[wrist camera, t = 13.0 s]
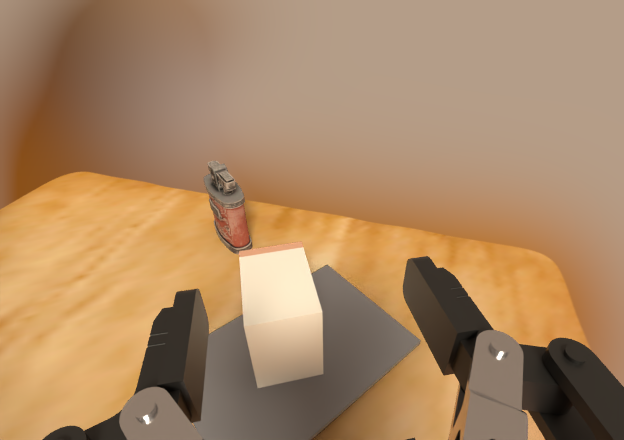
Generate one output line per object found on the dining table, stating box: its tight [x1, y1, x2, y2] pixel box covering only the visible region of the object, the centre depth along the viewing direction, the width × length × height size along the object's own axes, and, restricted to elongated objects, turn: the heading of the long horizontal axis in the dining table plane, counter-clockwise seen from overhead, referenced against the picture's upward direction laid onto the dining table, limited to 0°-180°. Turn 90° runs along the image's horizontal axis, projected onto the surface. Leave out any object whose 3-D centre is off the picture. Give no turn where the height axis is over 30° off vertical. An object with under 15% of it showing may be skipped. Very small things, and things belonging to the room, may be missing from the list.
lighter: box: [204, 161, 252, 254], centre depth 43 cm, size 8×3×10 cm, turn 33°
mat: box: [193, 265, 421, 440], centre depth 31 cm, size 13×19×1 cm
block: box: [239, 241, 323, 388], centre depth 30 cm, size 8×6×8 cm
